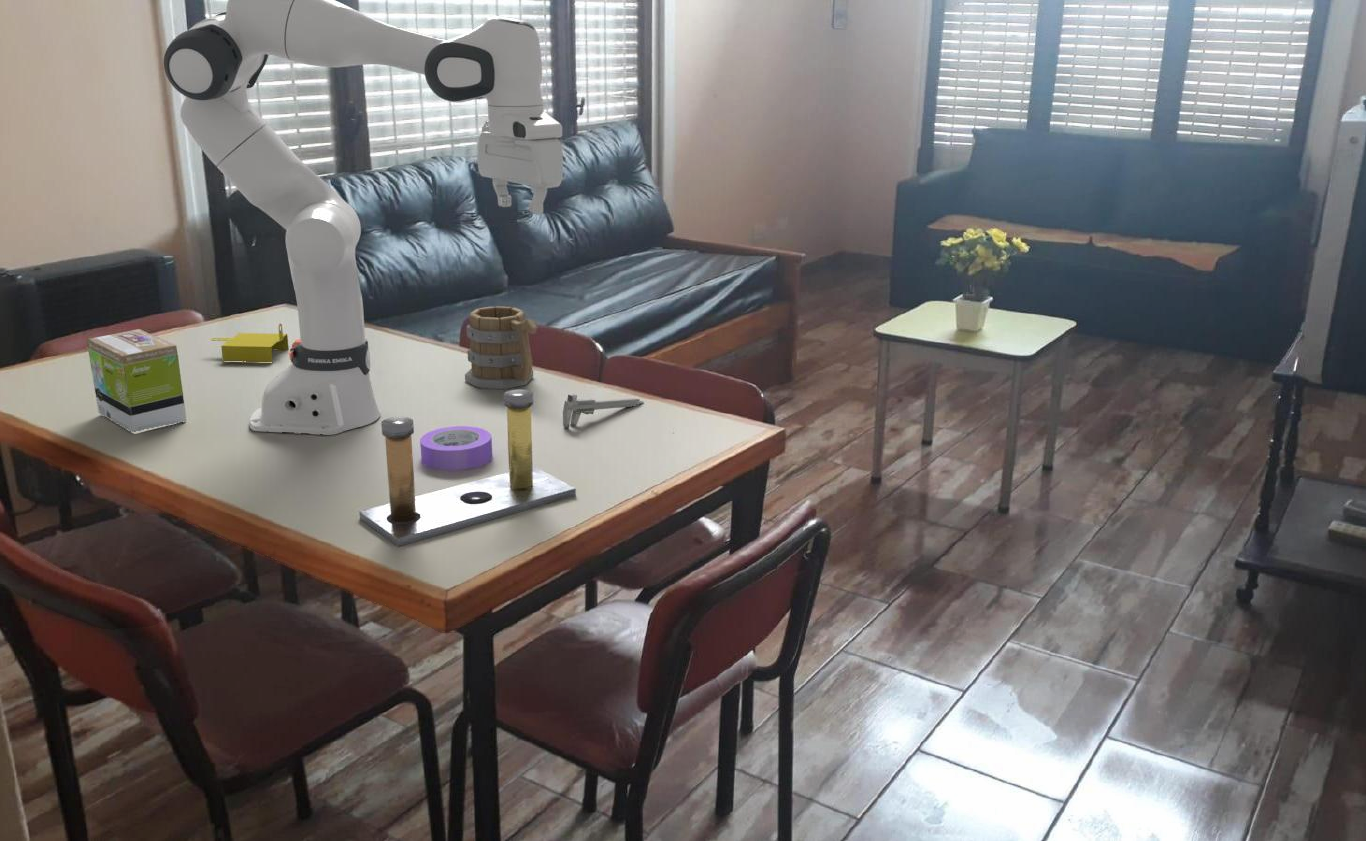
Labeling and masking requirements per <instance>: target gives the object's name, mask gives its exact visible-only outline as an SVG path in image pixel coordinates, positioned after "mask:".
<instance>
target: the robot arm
mask: <svg viewBox="0 0 1366 841" xmlns="http://www.w3.org/2000/svg"><path fill="white" fill-rule="evenodd" d="M540 44H541V42H540V38H539V34H538V32H537V30H536V28H535V27H534V26H533V25H532V24H531V23H530V22H528V21H526V20H522V19H519V18H514V17H509V16H501V15H500V16H499V15H492V16H489V17H488V18H487V19H486V20H485V21H484V22H483V23H482V24H481V25H479V26H477V27H475V28H474V29H472V30H470V31H468V32H466V33H463V34H461V35H459V36H456V37H453V38H450V39H449V38H440V37H435V36H431V35H427V34H425V33H420V32H416V31H413V30H409V29H405V28H401V27H398V26H395V25H391V24H388V23H385V22H383V21H380V20H378V19H375V18H373V17H372V16H369V15H367V14H365V13H363V12H361V11H359V10H356V9H354V8H352V7H350V6H349V5H346V4H344V3H341V2H340V1H337V0H227V4H226V10H225V11H224V12H221V13H218V14H216V15H214V16H211V17H208V18H205V19H203V20H201V21H198V22H197V23H195V24H194V25H193V26H192V27H190V28H189V29H188V30H186V31H183V32H181V33H180V34H178V35H177V36H175V38H174V39H173V40H172V41H171V42H170V43H169V45H168V46H167V48H166V51H165V52H164V56H163V68H164V73H165V75H166V77H167V80H168V82H170V84H171V86H172V87H173V88H174V89H175V91H178V92H179V94H181V95H182V96H184V97H185V98H184V100H183V102H182V105H181V108H180V119H181V121H182V123H183V125H184V126H185V128H186V129H187V131H188V133H189V135H191V137H192V138H193V140H194V142H196V144H197V145H198V147H199V148H200V149H201V151H203V153H204V154H205V155H206V157H207V158H208V159H209V160H210V161H211V162H212V163H213V164H214V166H215V167H216V168H217V169H218V170H219V171H220V172H221V173H222V174H223V175H224V176H225V177H226V178H227V179H228V181H229V182H230V183H231V184H232V185H233V186H234V187H235V188H236V189H237V190H238V191H239V192H240V193H241V195H242V196H243V197H244V198H245V199H246V200H247V201H248V202H249V203H250V204H252V205H253V206H255V207H256V208H258V209H260V210H261V211H262V212H264V213H265V214H266V215H267V216H269V217H270V218H272V219H273V221H275V222H276V223H278V224H279V226H281V227H282V228H283V229H284V230H286V232H285V247H286V252H287V258H288V259H287V260H288V263H289V265H288V266H289V269H290V275H291V280H292V283H293V289H294V292H295V298H296V305H297V314H298V315H297V316H298V324H299V337H300V338H299V339H295V340H294V342H293V343H292V344H291V348H290V349H289V360H290V362H291V364H290V365H289V366H288V367H287V368H286V369H284V370H283V371H282V372H280V373H279V374H278V375H277V376H276V377H275V378H274V379H272V380H271V381H270V382H269V383H268V384H267V386H265V389H264V391H263V394H262V400H261V406H260V407H259V408H258V409H256V410H255V411H253V413H252V414H251V416H250V418H249V427H250V429H251V430H252V431H254V432H265V433H267V431H268V433H282V432H294V433H293V434H301V433H310V435H320V434H323V435H322V436H332V435H337V434H340V433H342V432H345V431H347V430H351V429H352V430H353V429H357V428H359V427H364V426H367V425H370V424H372V423H374V422H376V421H377V420H378V419H379V418H380V416H381V412H380V410H379V407H378V405H377V402H376V399H375V394H374V392H373V391H374V390H373V386H372V381H371V377H370V371H371V355H370V354H371V352H370V348H369V342H368V340H367V339H366V331H365V320H364V319H365V317H364V316H365V315H364V304H363V297H362V296H363V295H362V292H361V286H360V282H359V274H358V269H357V268H358V267H357V261H356V249H357V248H356V247H357V245H358V243H359V240H360V237H361V233H362V228H361V227H362V226H361V221H360V218H359V216H358V214H357V212H356V211H355V209H354V208H353V207H352V206H351V205H350V204H349V203H348V202H347V201H346V200H344V199H343V198H342V196H340V195H339V194H338V192H336V191H335V190H334V189H333V188H332V187H331V186H330V185H329V184H328V183H327V182H325V181H324V180H323V178H321V177H320V176H319V175H318V174H317V173H315V172H314V171H313V170H312V169H310V168H309V167H308V166H307V165H306V164H305V163H304V162H303V161H302V160H301V159H300V158H299V157H298V155H296V154H295V152H293V150H292V149H291V148H290V147H289V146H288V145H287V144H286V142H284V140H282V138H281V137H280V136H279V135H278V134H277V132H275V131H274V129H273V128H272V127H271V126H270V125H269V124H268V123H267V121H265V120H264V119H263V118H262V116H261V115H260V114H259V113H258V112H257V111H256V110H255V108H254V107H253V106H252V105H251V103H250V102H249V100H248V97H247V89H251V88H253V87H254V86H255V84H256V83H257V80H258V78H259V76H260V74H261V72H262V71H263V69H264V67H265V66H266V63H267V61H268V59H269V56H275V57H279V58H281V59H285V60H289V61H292V62H295V63H298V64H303V65H307V66H313V67H321V68H323V67H324V68H345V67H353V66H365V65H367V66H368V65H378V66H388V67H393V68H397V69H401V70H405V71H409V72H413V73H416V74H421V75H424V76H425V80H426V84H427V85H428V88H430V89H431V91H432V92H433V93H434V94H435V96H438V97H439V98H440V99H442V100H445V101H448V102H451V103H459V104H460V103H466V102H470V101H473V100H483V99H486V101H487V114H488V115H487V116H488V118H487V119H488V120H486V121H485V122H484V124H483V126H481V133H480V134H479V138H478V143H477V145H478V147H477V168H478V172H479V174H480V176H481V177H484V178H490V179H492V187H493V189H494V192H495V193H496V196H497V205H498V206H499V207H501V208H508V207H511V206H512V205H513V204H512V195H509V191H508V187H507V186H508V185H509V182H510V183H514V184H520V185H525V186H530V189H531V190H530V191H531V193H532V194H533V195H532V199H531V201H530V202H528V208H529V210H528V211H529V213H530V214H533V215H541V214H543V213H544V202H545V200H546V197H547V194H548V189H552V188H559V186H560V185H561V183H562V181H563V178H564V177H563V175H564V170H563V169H564V163H563V162H564V161H563V160H564V159H563V147H562V144H561V141H560V140H559V138H562V137H563V126H562V124H561V122H559V121H558V120H556V119H555V118H553V117H552V116H550V115H549V114H548V113H547V112H546V111H545V109H544V99H543V97H542V92H541V84H542V79H543V63H542V62H543V61H542V52H541V45H540Z"/></svg>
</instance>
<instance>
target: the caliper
mask: <svg viewBox="0 0 1366 841" xmlns="http://www.w3.org/2000/svg"><path fill="white" fill-rule="evenodd" d="M577 397H578V395H577V394H568V395H567V398H566V399H567V400H564V404H563V408H562V409H563V410H562V426H563V428H566V429H570V427H573V428H575V427H577V425H578V423H579V419H580V417H581V413H582V414H584V415H593V414H594V412H595V411H596V410H597V411H598V410H605V409H606V410H608V409H621V408H633V407H632V406H634V407H636V405H637V406H639V405H640V404H641V405H642V404H644V403H645V402H644V400H640V398H637V397H633V398H632V397H630V398H614V399H602V400H601V399H600V400H596V399H593V398H582V399H578V398H577Z"/></svg>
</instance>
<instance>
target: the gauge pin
mask: <svg viewBox="0 0 1366 841" xmlns="http://www.w3.org/2000/svg"><path fill="white" fill-rule="evenodd" d="M533 405H534V392H533V391H531V390H528V389H512V390H507V391H505V392H504V393H503V406H504V407H506V420H507V449H508V454H507V455H508V472H509V483H510V486H511V487H514V488H527V487H530V486H532V485H533V466H534V465H533V443H532V442H533V440H532V439H533V438H532V433H533V432H532V407H533Z"/></svg>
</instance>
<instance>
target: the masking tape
mask: <svg viewBox="0 0 1366 841" xmlns="http://www.w3.org/2000/svg"><path fill="white" fill-rule="evenodd" d="M419 444H420V446H419V447H420V454H421V456H420V457H421V462H422V464H423V465H424V466H425V467H427V468H430V469H434V470H439V471H448V472H449V471H451V472H453V471H456V472H457V471H465V470H466V471H467V470H471V469H476V468H480V467H483V466H485V465H487V464H488V463H490V462H491V460H492V459H493V440H492V434H491V432H490V431H488V430H486V429H483V428H480V427H476V426H466V425H465V426H463V425H462V426H461V425H459V426H458V425H457V426H446V427H441V428H437V429H433V430H431V431H429V432H426V433H425V434H424V435H422V436H421V437H420V440H419Z"/></svg>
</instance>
